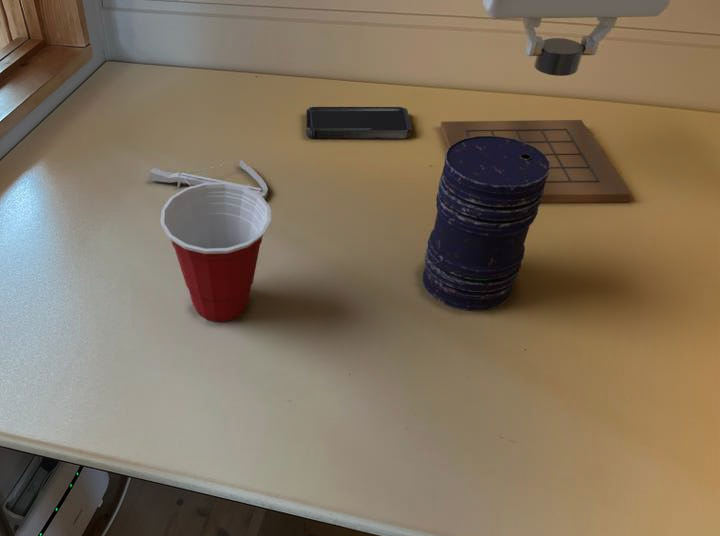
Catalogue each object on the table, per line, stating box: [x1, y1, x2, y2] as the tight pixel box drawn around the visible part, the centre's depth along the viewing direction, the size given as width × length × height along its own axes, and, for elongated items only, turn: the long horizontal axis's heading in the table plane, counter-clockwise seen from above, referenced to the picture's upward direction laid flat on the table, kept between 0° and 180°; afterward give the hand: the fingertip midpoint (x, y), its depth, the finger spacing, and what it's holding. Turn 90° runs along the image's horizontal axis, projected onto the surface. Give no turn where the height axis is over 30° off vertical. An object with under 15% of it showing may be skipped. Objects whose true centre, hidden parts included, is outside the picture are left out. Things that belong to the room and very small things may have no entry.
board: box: [439, 119, 632, 204], centre depth 96 cm, size 20×20×1 cm
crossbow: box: [149, 159, 269, 201], centre depth 94 cm, size 16×13×2 cm
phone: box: [305, 106, 412, 139], centre depth 105 cm, size 8×1×15 cm
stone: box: [533, 37, 584, 77], centre depth 86 cm, size 5×5×3 cm
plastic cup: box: [160, 181, 272, 323], centre depth 73 cm, size 11×11×12 cm
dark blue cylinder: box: [422, 136, 550, 312], centre depth 73 cm, size 10×10×15 cm
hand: (559, 54), depth 85 cm, fingers closed on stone, 5 cm apart
